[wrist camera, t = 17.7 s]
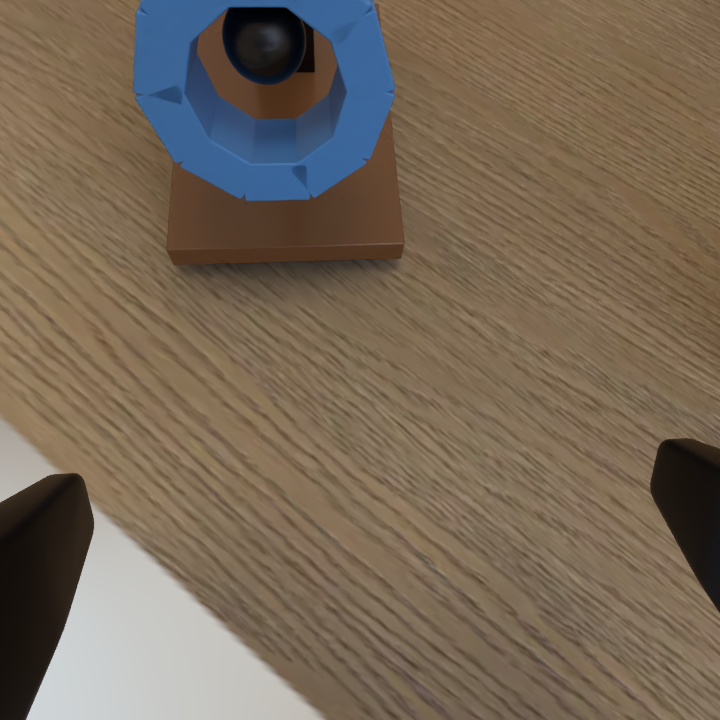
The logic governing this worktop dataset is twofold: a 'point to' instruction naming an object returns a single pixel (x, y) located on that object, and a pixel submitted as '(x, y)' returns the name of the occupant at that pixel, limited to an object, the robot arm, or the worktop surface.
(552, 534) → the worktop surface
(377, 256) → the hook stand
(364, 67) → the tape roll
